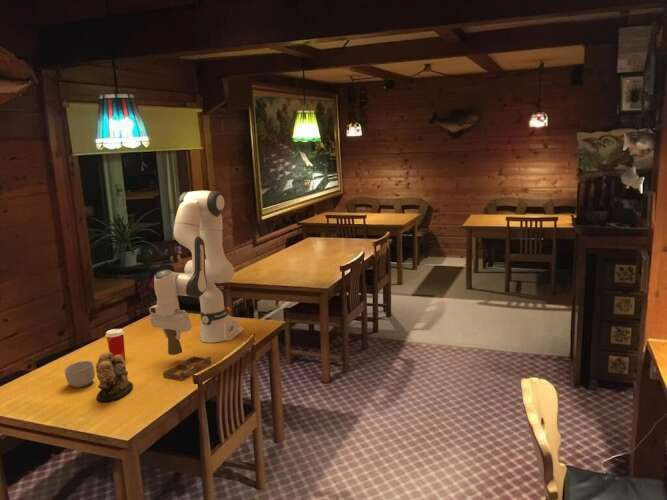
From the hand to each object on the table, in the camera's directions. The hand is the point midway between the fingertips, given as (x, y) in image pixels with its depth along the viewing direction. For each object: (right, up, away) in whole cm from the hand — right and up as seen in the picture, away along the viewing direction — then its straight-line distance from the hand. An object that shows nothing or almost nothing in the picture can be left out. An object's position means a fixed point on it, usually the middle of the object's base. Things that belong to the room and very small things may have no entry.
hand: (173, 338), depth 242 cm
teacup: (-33, -16, -14) cm, 39 cm away
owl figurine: (-15, -18, -26) cm, 34 cm away
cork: (0, -6, +2) cm, 7 cm away
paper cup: (-26, -11, +7) cm, 29 cm away
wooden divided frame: (+8, -12, -7) cm, 16 cm away
